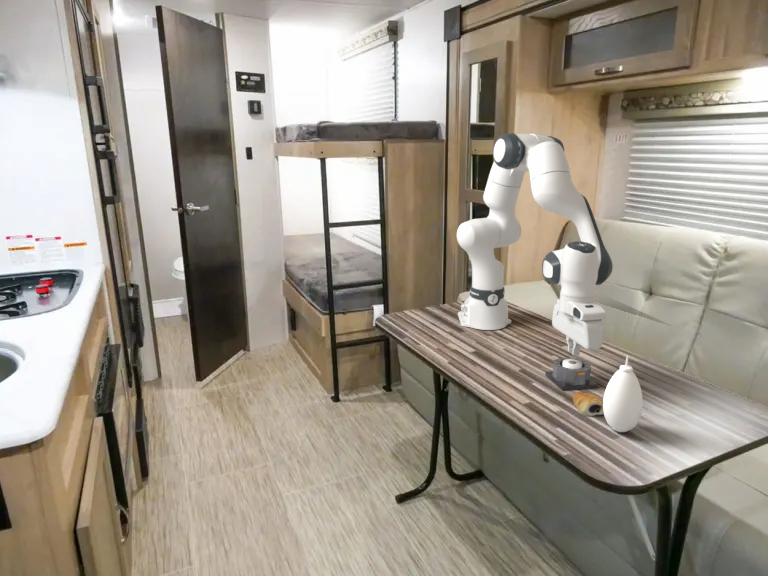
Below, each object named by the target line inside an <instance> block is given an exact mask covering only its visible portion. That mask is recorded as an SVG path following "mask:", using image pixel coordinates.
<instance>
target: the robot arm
mask: <svg viewBox="0 0 768 576" xmlns="http://www.w3.org/2000/svg"><path fill="white" fill-rule="evenodd" d="M492 158H493V163H492V165H491V168H490V171H489V174H488V177H487V181H486V185H485V188H484V192H483V196H482V199H483V202H484V204H485V205H486V206H487V207H488V208H489V213H488V215H487V216H486V217H481V218H479V217H478V218H473V219H469V220H466V221H464V222H462V223H460V225H459V226H458V228H457V231H456V241H457V243H458V245H459V247H460V248H461V249H463V250H464V251H465V252H466V253H467V255H468V258H469V259H470V263H471V264H470V265H471V274H472V275H471V286H470V289H469V296H468V297H466V299H465V300H464V302H463V303H461V304H460V311H458V313H457V317H458V319H459V322H460V326H461V327H468V328H471V329H476V330H482V331H484V330H485V331H494V330H495V331H496V330H501V329H504V328H506V327H507V326H508V325H510V324H512V320H511V319H510V318H509V312H508V311H509V310H508V309H509V308H508V301H507V300H506V299H505V293H506V292H505V286H504V276H505V267H504V264H503V263H502V262H501V260H498V259H497V258H496V257H495V249H497V248H498V249H499V248H506V247H508V246H511V245H513V244H515V243H517V242H518V241H519V240H520V238H521V235H522V226H521V223H520V222H519V220H518V219H517V217H516V204H517V200H518V197H519V194H520V191H521V187H522V184H523V181H524V176H525V174H526V172H529V181H530V183H529V184H530V189H531V194H532V198H533V200H534V202H535V203H536V204H537V205H538V206H539V207H540V208H542V209H543V210H546V211H547V212H551V213H555V214H556V215H557V214H558V215H560V216H563V217H565V218H566V219H568V220H570V221H571V222H572V223H573V224H574V226H575V228H576V230H577V233H578V236H579V239H580V240H577V241H570V242H568V243H567V244H565V245H564V247H563V248H561V249H557V250H552V251H549V252H547V254H546V255H545V256H544V258H543V260H542V264H541V266H542V267H541V274H542V277H543V279H544V280H546V282H548V283H549V284H550V285H554V286H560V287H561V289H560V291H559V297H558V298H557V299H556V303H555V304H554V307H553V310H552V311H553V312H552V318H551V325H552V327H553V328H554V329H556V330H557V331H559V332H560V333H562V334H563V335H565V339H566V343H567V346H568V347H567V351H568V353H570V354H571V355H572V356H574V357H578V356H579V355H580V352H581V351H580V350H581V349H582V348H585V349H586V350H587V351H595V350H596V351H597V350H600V349H601V348H602V346H603V340H604V333H605V331H604V330H605V325H604V324H605V323H604V320H605V319H606V316H607V313H606V310H605V309H604V308H603V307H602V305H601V304H600V303H599V301H598V299H597V291H596V286H600V285H602V284H603V283H605V282H606V281H607V279H609V277H610V276H611V275H612V272H613V266H614V265H613V261H612V258H611V255H610V254H609V252H608V250H607V248H606V246H605V244H604V241H603V239H602V236H601V233H600V230H599V228H598V225H597V220H596V219H595V216H594V214H593V211H592V209H591V205H590V203H589V201H588V199H587V197H586V196H584V195H583V194H582V193H580V192H579V190H578V189H577V187H576V186H575V185H574V182H573V180H572V177H571V171H570V167H569V162H568V159H567V156H566V154H565V146H564V143H563V142H562V140H561V139H559V138H557V137H555V136H551V135H548V136H547V135H542V134H537V133H514V132H511V133H510V132H508V133H504V134H501V135H500V136H498V138H497V139H496V140H495V142H494V145H493V148H492Z"/></svg>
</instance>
